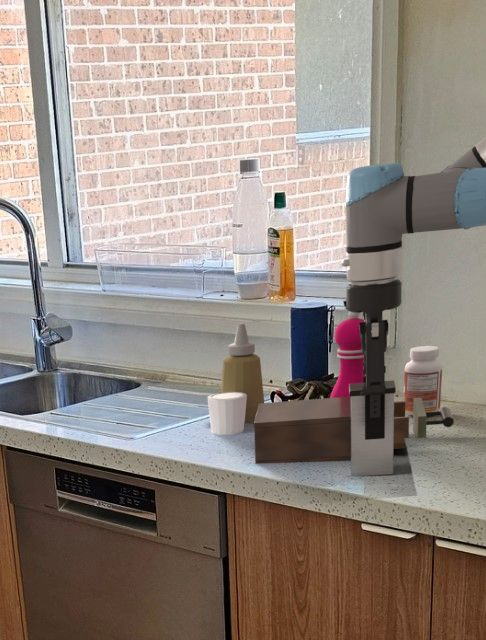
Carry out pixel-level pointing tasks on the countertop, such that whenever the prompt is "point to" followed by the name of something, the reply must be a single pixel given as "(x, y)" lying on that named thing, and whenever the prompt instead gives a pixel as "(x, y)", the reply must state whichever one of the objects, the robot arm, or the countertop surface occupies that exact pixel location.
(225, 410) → the white tapered cup
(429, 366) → the pill bottle
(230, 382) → the squeeze bottle
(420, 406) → the drawer
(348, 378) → the pepper mill
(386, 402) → the white rectangular block
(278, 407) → the cabinet
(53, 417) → the countertop surface
